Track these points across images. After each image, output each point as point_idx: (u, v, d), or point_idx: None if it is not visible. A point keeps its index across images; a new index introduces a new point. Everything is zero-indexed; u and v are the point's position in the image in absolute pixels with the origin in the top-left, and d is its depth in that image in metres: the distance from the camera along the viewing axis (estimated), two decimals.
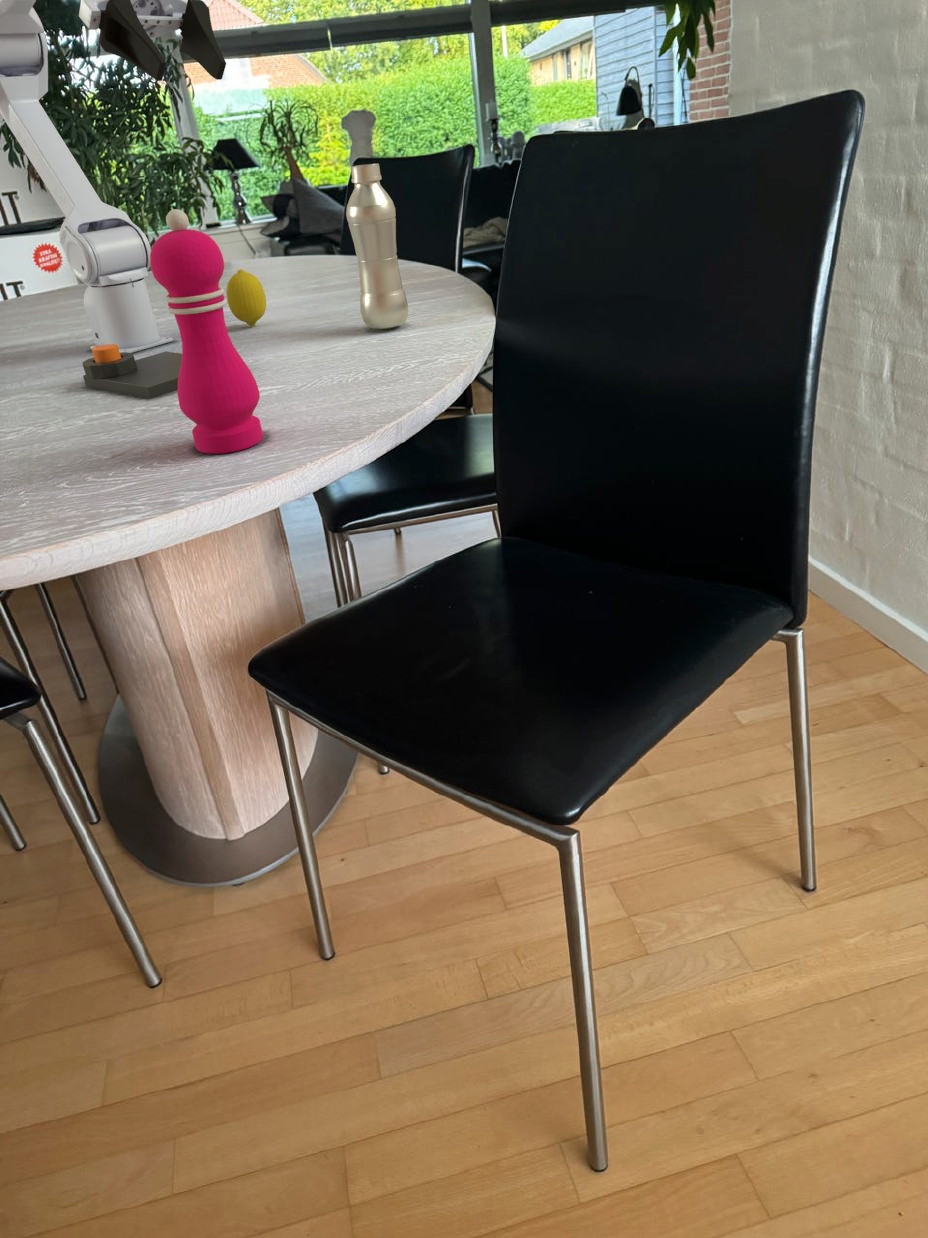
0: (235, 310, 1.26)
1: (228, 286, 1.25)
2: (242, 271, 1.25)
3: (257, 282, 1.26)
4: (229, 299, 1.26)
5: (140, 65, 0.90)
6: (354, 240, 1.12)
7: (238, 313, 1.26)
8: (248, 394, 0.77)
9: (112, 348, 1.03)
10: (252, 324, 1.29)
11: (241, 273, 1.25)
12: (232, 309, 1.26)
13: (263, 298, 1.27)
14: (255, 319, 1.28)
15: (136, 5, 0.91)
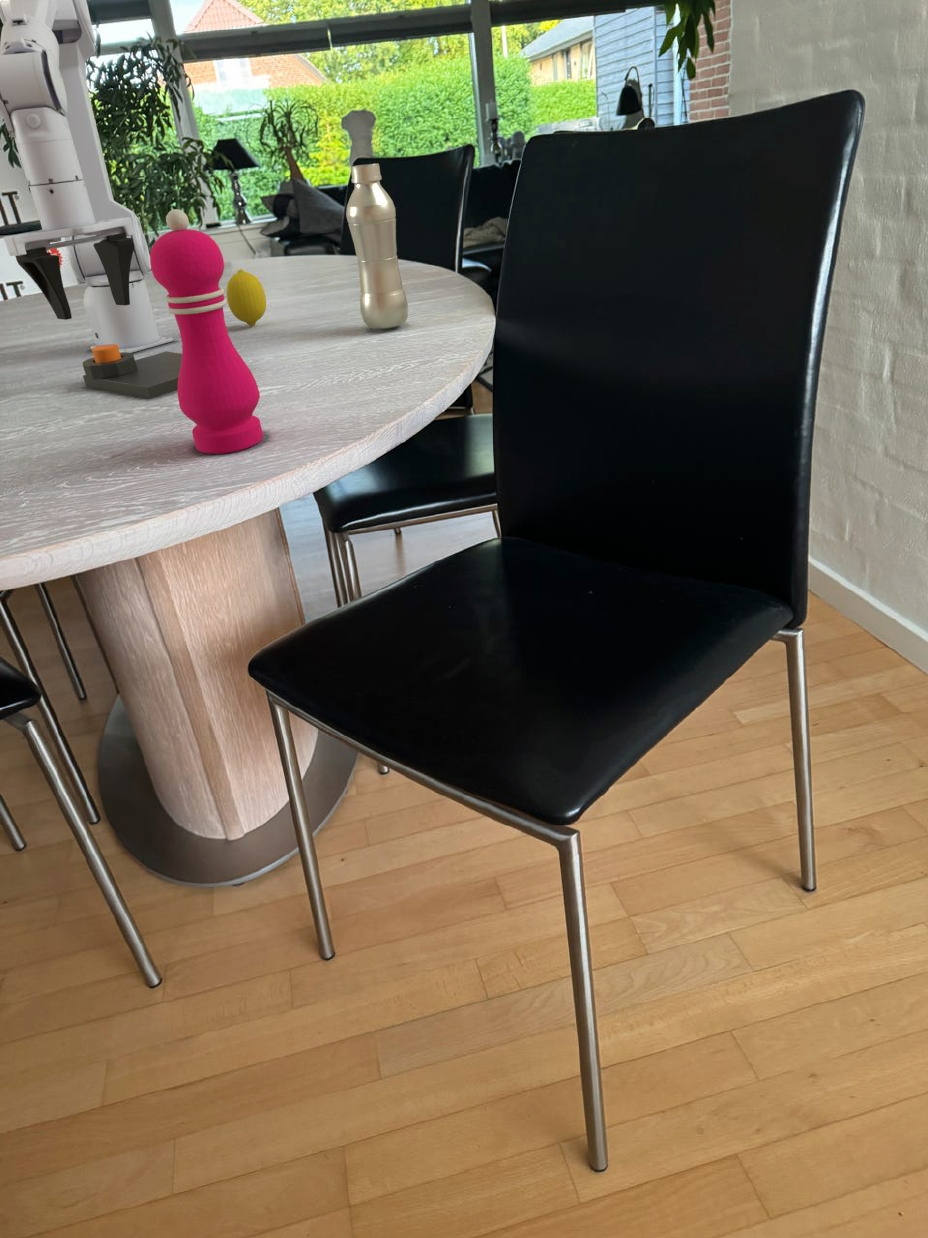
0: (235, 310, 1.26)
1: (228, 286, 1.25)
2: (242, 271, 1.25)
3: (257, 282, 1.26)
4: (229, 299, 1.26)
5: (47, 297, 0.98)
6: (354, 240, 1.12)
7: (238, 313, 1.26)
8: (248, 394, 0.77)
9: (112, 348, 1.03)
10: (252, 324, 1.29)
11: (241, 273, 1.25)
12: (232, 309, 1.26)
13: (263, 298, 1.27)
14: (255, 319, 1.28)
15: None
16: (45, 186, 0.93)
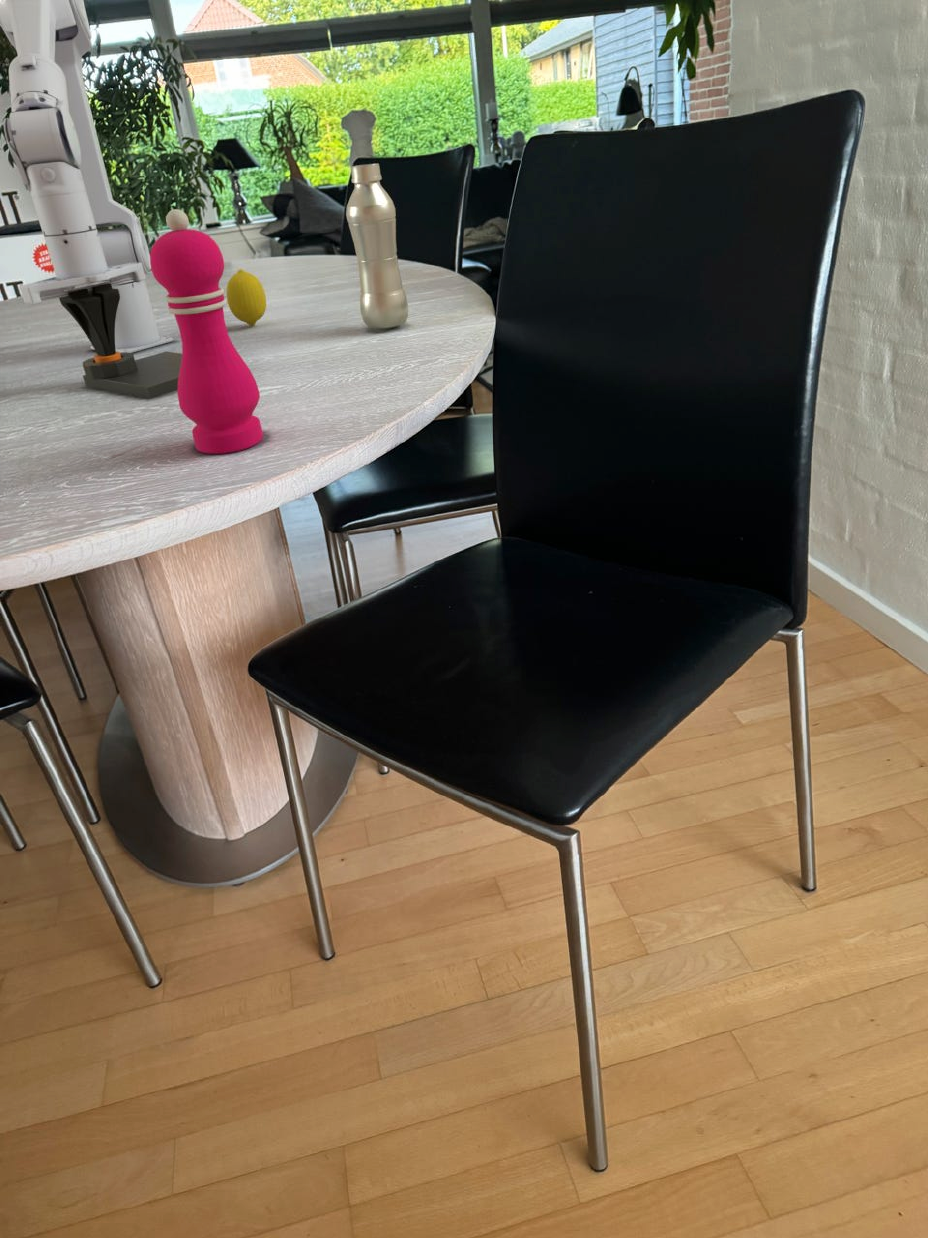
0: (235, 310, 1.26)
1: (228, 286, 1.25)
2: (242, 271, 1.25)
3: (257, 282, 1.26)
4: (229, 299, 1.26)
5: (88, 335, 1.03)
6: (354, 240, 1.12)
7: (238, 313, 1.26)
8: (248, 394, 0.77)
9: (114, 355, 1.04)
10: (252, 324, 1.29)
11: (241, 273, 1.25)
12: (232, 309, 1.26)
13: (263, 298, 1.27)
14: (255, 319, 1.28)
15: None
16: (60, 237, 0.95)
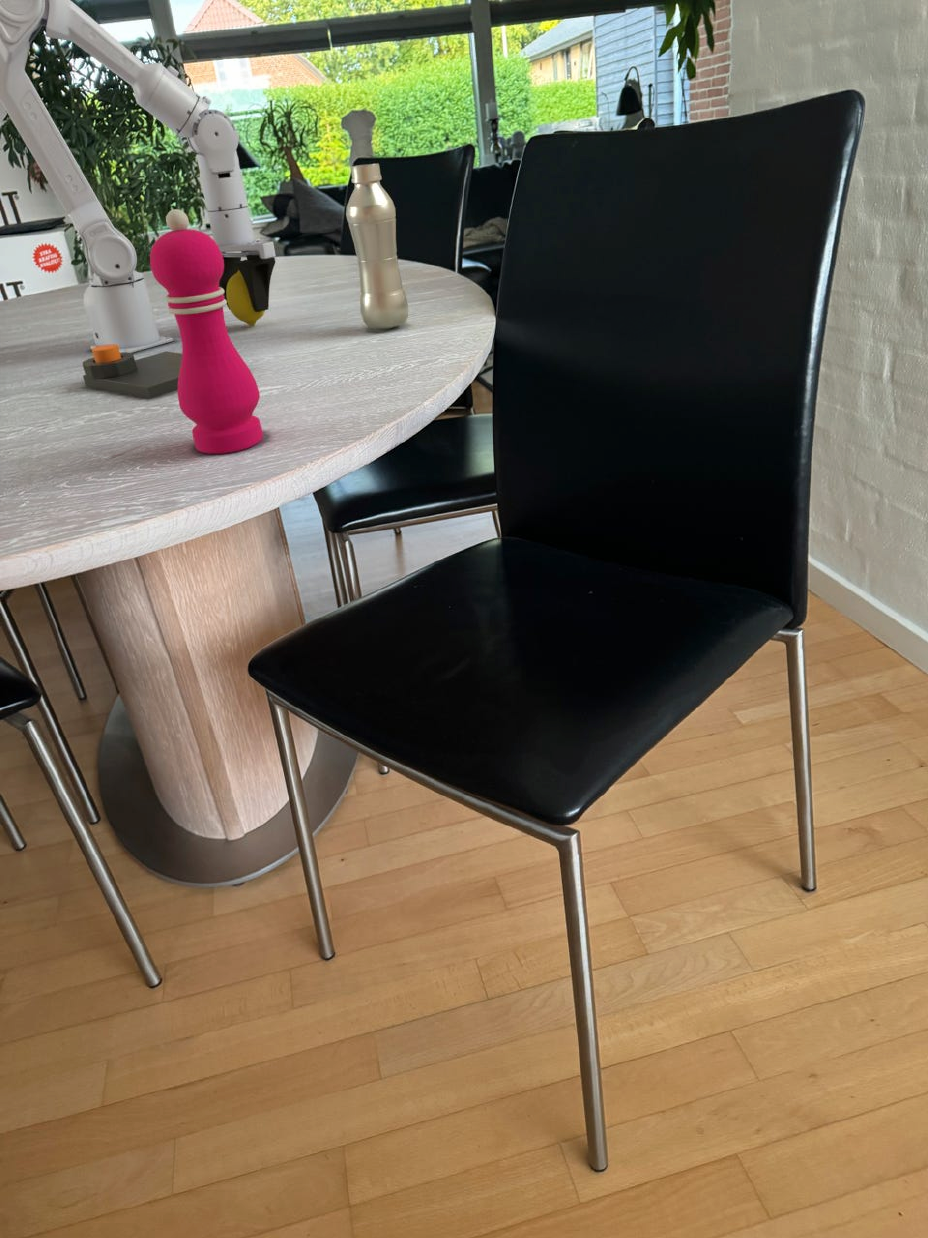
0: (235, 310, 1.26)
1: (228, 286, 1.25)
2: None
3: None
4: (229, 299, 1.26)
5: (255, 295, 1.24)
6: (354, 240, 1.12)
7: (238, 313, 1.26)
8: (248, 394, 0.77)
9: (112, 348, 1.03)
10: (252, 324, 1.29)
11: None
12: (232, 309, 1.26)
13: None
14: (255, 319, 1.28)
15: None
16: (247, 208, 1.21)
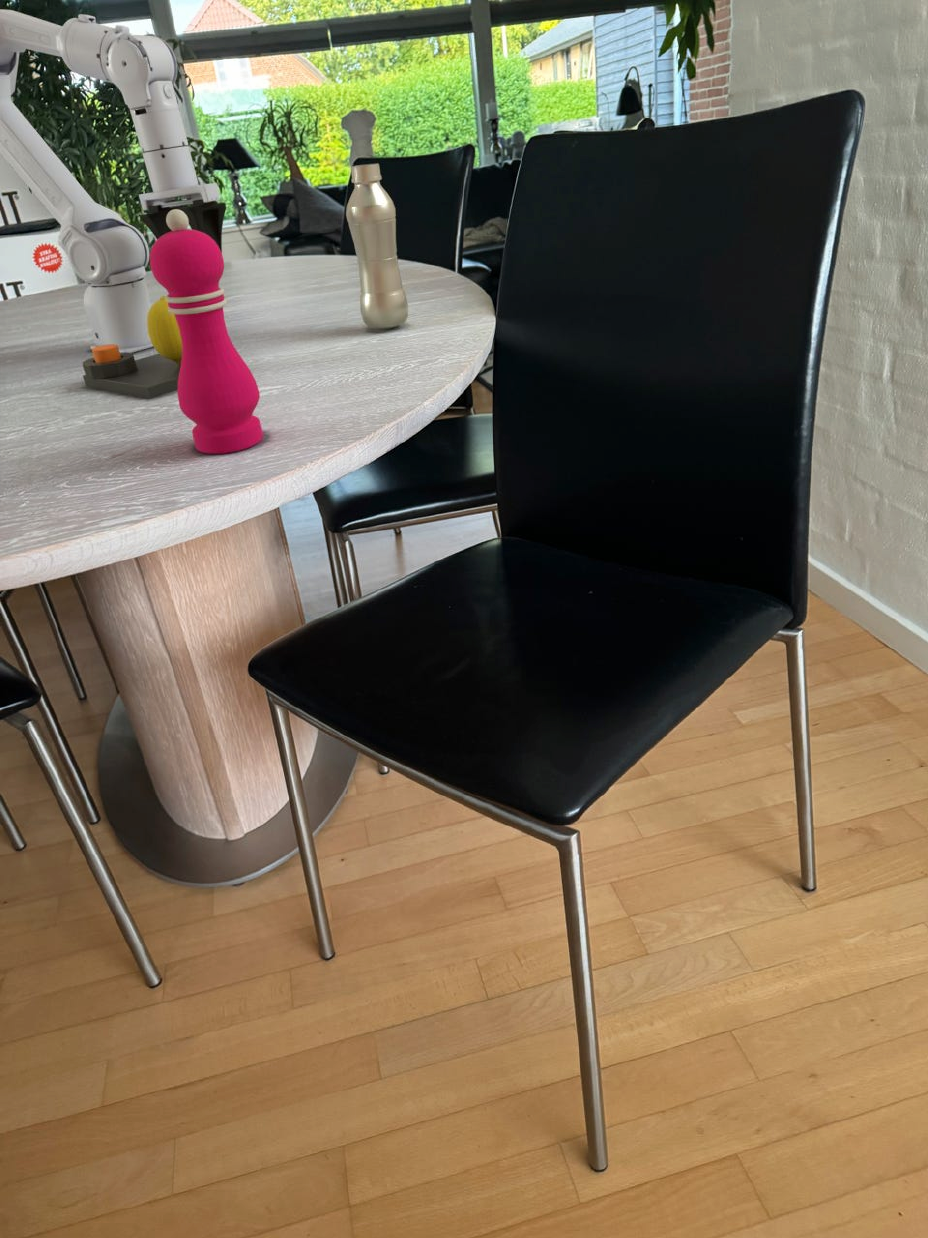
0: (157, 346, 1.02)
1: (148, 317, 1.01)
2: None
3: None
4: (150, 333, 1.02)
5: None
6: (354, 240, 1.12)
7: (161, 350, 1.02)
8: (248, 394, 0.77)
9: (112, 348, 1.03)
10: (180, 362, 1.05)
11: (164, 301, 1.01)
12: (154, 345, 1.02)
13: None
14: None
15: None
16: (187, 147, 1.07)
